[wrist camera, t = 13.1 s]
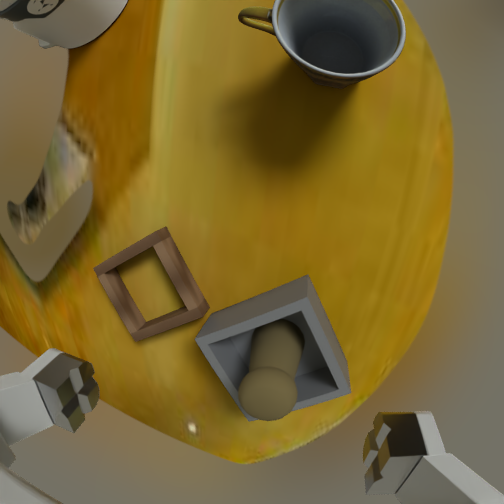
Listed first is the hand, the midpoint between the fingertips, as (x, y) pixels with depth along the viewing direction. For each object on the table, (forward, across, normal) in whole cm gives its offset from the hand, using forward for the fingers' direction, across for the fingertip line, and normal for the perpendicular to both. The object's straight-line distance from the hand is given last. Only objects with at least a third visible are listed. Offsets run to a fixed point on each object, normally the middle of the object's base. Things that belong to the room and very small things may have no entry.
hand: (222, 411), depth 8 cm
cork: (+25, 0, +14) cm, 28 cm away
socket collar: (+26, +15, +9) cm, 31 cm away
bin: (+26, -1, +14) cm, 29 cm away
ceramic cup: (+27, -2, -17) cm, 32 cm away
